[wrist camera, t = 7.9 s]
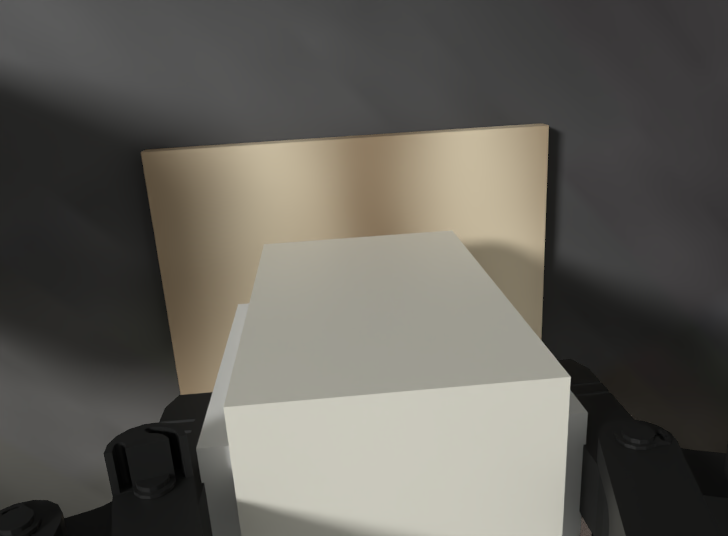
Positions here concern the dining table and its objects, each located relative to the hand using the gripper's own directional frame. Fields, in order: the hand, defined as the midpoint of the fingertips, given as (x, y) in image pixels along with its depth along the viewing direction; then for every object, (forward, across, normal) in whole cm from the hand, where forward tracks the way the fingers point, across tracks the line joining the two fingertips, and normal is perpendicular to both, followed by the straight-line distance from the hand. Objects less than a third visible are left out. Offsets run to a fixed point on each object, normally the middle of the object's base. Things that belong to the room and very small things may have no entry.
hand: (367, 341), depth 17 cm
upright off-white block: (+1, 0, 0) cm, 1 cm away
